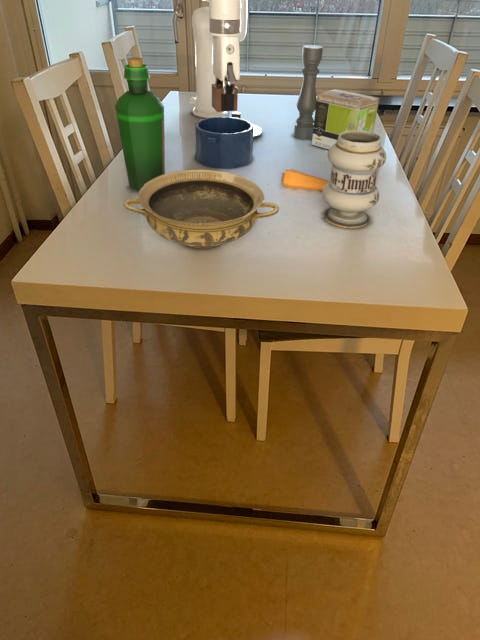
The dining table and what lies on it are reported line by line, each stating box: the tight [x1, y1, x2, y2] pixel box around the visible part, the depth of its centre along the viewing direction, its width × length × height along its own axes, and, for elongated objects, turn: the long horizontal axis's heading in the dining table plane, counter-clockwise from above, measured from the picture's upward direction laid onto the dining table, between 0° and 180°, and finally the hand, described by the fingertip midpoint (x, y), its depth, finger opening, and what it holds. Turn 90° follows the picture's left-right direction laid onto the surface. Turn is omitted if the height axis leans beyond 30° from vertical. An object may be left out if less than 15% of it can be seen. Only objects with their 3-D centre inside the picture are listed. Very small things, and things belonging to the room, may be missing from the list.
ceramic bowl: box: [123, 169, 280, 249], centre depth 95 cm, size 30×24×10 cm
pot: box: [194, 116, 254, 169], centre depth 133 cm, size 16×21×9 cm
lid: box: [231, 111, 263, 139], centre depth 151 cm, size 17×17×6 cm
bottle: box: [114, 56, 166, 193], centre depth 110 cm, size 11×11×28 cm
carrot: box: [280, 168, 330, 192], centre depth 119 cm, size 20×4×4 cm, turn 80°
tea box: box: [311, 88, 380, 150], centre depth 140 cm, size 15×10×15 cm, turn 47°
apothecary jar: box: [322, 130, 387, 229], centre depth 102 cm, size 12×12×18 cm
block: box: [212, 84, 239, 112], centre depth 125 cm, size 6×6×6 cm
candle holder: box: [293, 44, 324, 140], centre depth 145 cm, size 6×6×25 cm
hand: (224, 106), depth 127 cm, fingers closed on block, 5 cm apart
